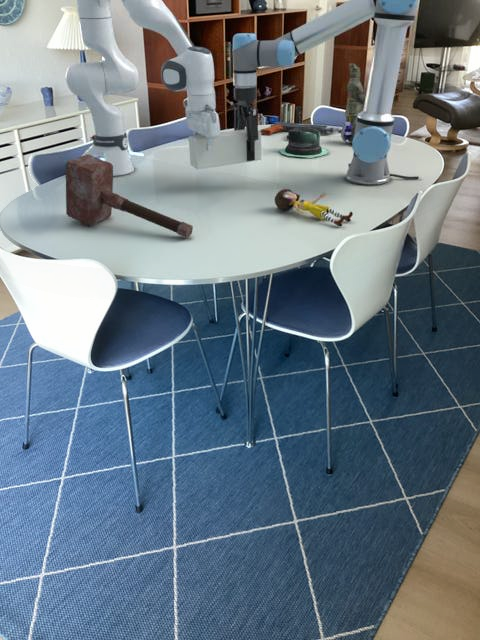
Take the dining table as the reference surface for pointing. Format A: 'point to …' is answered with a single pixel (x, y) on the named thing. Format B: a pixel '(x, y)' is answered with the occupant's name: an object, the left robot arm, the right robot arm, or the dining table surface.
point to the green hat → (304, 143)
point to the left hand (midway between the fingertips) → (204, 147)
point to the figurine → (308, 206)
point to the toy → (347, 132)
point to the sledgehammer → (105, 196)
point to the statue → (354, 95)
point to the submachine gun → (291, 126)
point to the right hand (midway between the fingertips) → (246, 158)
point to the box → (222, 149)
